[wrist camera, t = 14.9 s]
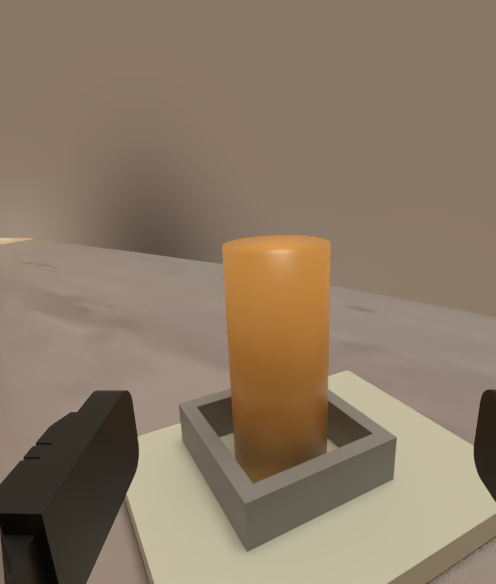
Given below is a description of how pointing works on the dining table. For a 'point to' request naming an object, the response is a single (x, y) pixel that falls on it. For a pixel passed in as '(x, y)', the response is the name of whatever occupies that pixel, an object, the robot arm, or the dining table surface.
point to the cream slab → (309, 499)
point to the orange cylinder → (278, 349)
